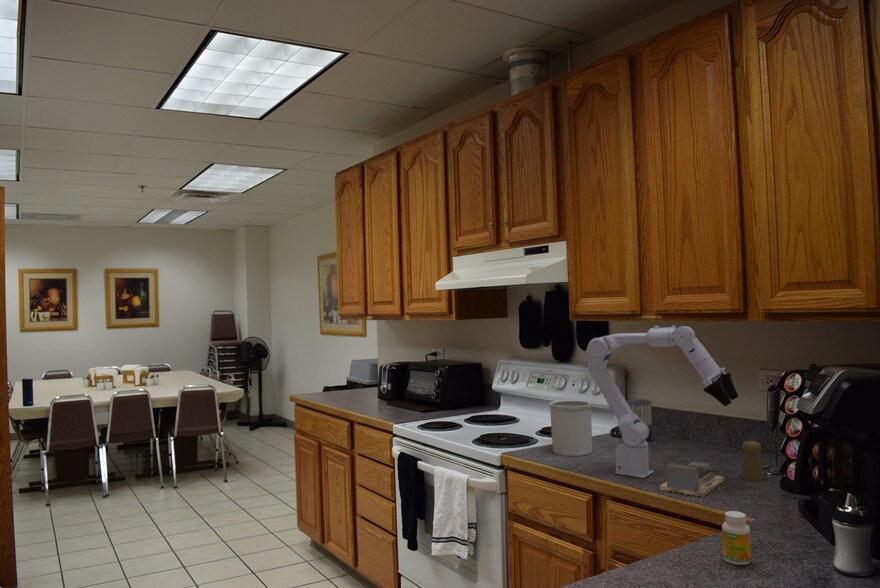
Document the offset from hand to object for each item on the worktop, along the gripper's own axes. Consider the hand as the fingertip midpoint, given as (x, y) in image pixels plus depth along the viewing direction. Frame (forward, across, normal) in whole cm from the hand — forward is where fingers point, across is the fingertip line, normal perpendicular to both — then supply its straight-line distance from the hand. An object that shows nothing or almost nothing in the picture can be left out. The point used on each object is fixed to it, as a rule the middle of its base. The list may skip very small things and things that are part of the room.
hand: (731, 401), depth 190 cm
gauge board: (+14, -9, +21) cm, 27 cm away
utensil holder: (-11, +9, +62) cm, 63 cm away
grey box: (+12, -17, +20) cm, 29 cm away
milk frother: (-4, +39, +55) cm, 68 cm away
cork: (+22, +7, +12) cm, 26 cm away
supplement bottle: (+24, -57, -1) cm, 61 cm away
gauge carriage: (+14, -3, +19) cm, 24 cm away
